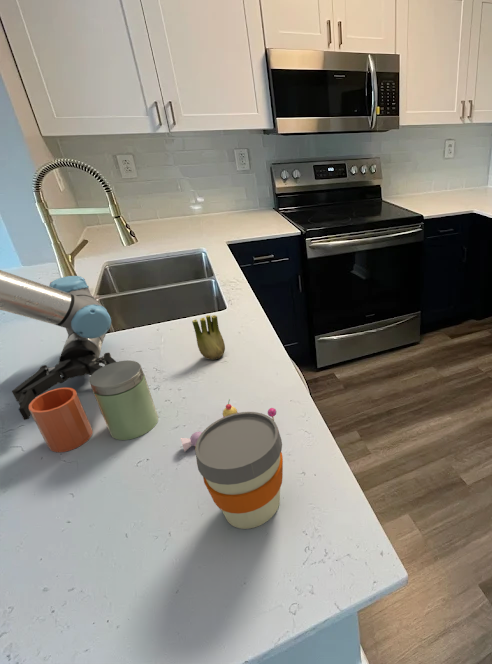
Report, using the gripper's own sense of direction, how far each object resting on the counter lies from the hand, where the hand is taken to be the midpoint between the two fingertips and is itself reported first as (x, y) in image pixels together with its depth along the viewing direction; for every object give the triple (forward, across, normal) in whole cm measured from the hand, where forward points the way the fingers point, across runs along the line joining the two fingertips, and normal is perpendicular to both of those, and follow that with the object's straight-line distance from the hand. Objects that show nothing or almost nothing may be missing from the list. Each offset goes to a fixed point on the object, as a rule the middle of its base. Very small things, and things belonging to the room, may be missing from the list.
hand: (64, 404), depth 85 cm
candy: (+15, -29, -6) cm, 34 cm away
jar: (+5, -11, -6) cm, 14 cm away
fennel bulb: (-16, -29, -6) cm, 34 cm away
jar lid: (+5, -11, +7) cm, 14 cm away
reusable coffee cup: (+35, -30, -6) cm, 47 cm away
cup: (+4, 0, -6) cm, 7 cm away
